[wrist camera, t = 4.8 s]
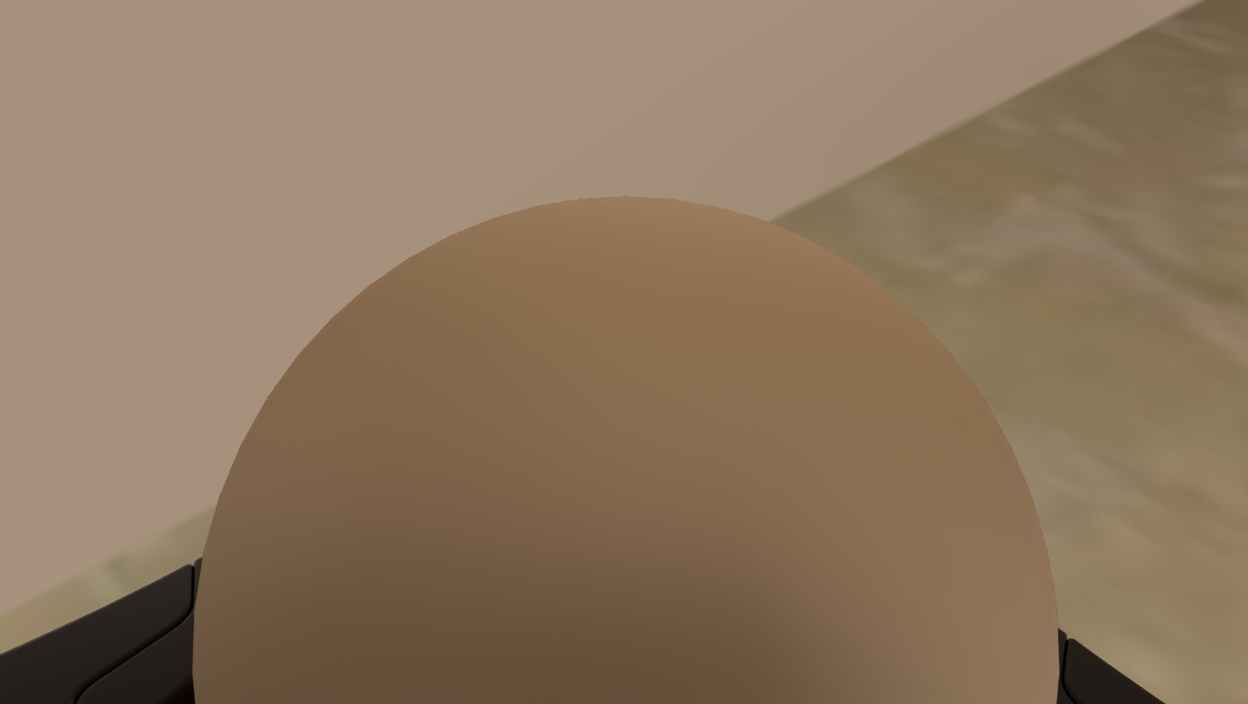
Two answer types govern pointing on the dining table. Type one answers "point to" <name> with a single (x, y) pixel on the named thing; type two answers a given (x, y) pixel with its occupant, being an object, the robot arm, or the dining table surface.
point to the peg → (625, 486)
